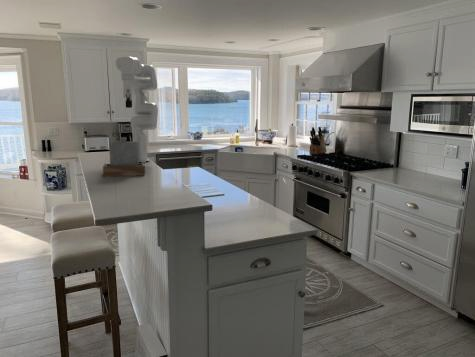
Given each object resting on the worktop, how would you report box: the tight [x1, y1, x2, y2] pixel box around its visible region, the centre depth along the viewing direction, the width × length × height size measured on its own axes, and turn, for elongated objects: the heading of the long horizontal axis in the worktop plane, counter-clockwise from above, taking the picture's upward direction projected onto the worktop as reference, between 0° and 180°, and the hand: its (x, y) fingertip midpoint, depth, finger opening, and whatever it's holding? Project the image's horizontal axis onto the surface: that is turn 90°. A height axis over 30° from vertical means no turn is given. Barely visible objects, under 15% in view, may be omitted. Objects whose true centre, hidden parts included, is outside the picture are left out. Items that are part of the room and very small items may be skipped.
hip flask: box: [108, 137, 139, 166], centre depth 217 cm, size 16×4×20 cm, turn 105°
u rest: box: [102, 162, 146, 178], centre depth 219 cm, size 12×23×6 cm, turn 103°
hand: (129, 107), depth 226 cm, fingers open, 9 cm apart
